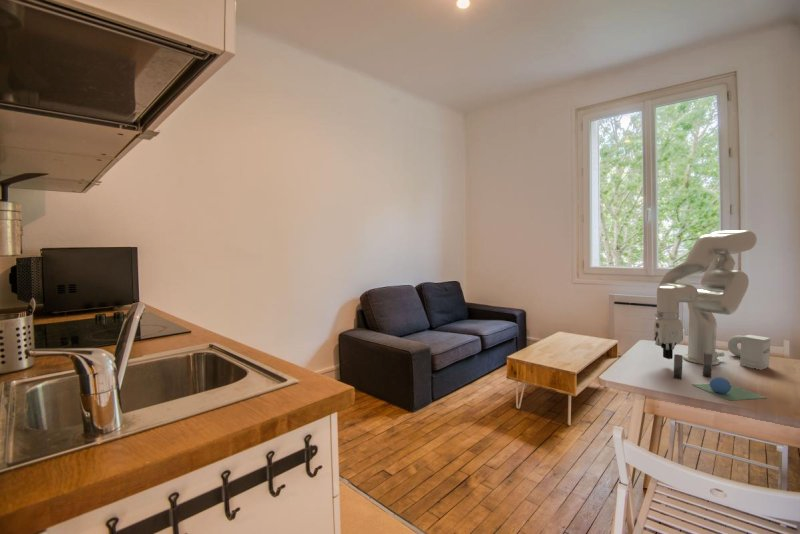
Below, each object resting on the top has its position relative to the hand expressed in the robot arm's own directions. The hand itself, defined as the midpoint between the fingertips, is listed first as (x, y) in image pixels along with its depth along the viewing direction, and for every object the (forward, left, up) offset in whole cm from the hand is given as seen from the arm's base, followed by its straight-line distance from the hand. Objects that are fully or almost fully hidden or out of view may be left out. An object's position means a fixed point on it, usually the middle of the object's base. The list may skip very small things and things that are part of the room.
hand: (667, 357), depth 161 cm
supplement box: (-36, +5, -4) cm, 36 cm away
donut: (-43, -7, -4) cm, 43 cm away
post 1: (+8, +13, -4) cm, 16 cm away
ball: (+6, +28, -1) cm, 29 cm away
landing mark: (+1, +27, -4) cm, 28 cm away
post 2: (-5, +13, -4) cm, 15 cm away
